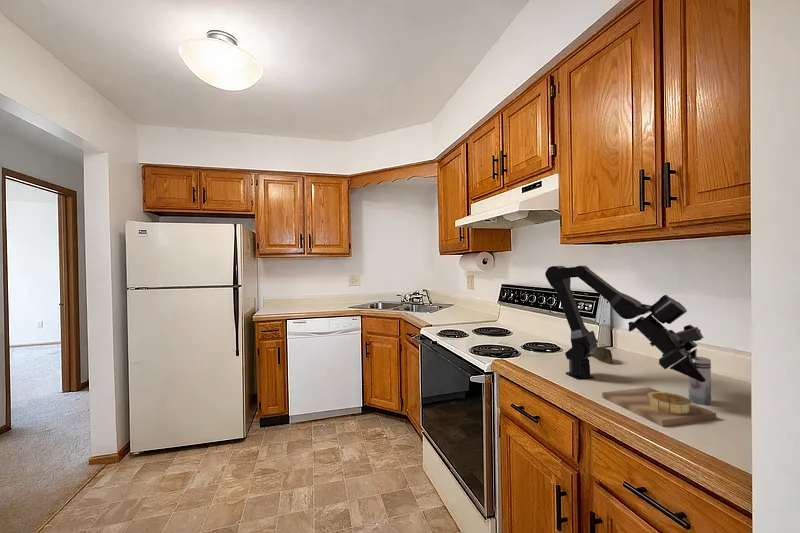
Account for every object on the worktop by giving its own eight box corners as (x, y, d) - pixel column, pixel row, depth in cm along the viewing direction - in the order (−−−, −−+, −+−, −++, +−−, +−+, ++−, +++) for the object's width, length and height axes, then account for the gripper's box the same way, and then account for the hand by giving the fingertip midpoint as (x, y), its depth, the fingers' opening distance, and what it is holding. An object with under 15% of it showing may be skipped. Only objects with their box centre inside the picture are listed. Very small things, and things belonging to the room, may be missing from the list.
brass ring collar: (639, 402, 95) (639, 393, 95) (666, 399, 97) (666, 390, 97) (670, 416, 86) (670, 406, 86) (699, 412, 88) (699, 402, 88)
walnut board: (602, 397, 103) (602, 392, 103) (648, 392, 106) (648, 387, 106) (662, 426, 85) (662, 420, 85) (716, 419, 88) (716, 412, 88)
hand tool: (574, 350, 158) (574, 338, 158) (585, 350, 158) (585, 337, 158) (602, 365, 135) (601, 351, 135) (615, 365, 135) (614, 350, 135)
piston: (684, 399, 100) (683, 357, 100) (698, 397, 101) (697, 355, 101) (701, 406, 96) (701, 361, 95) (716, 404, 96) (715, 360, 96)
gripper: (672, 320, 95) (729, 370, 87) (687, 312, 107) (738, 355, 99) (638, 345, 101) (688, 393, 93) (656, 335, 113) (702, 377, 105)
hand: (706, 379), depth 97 cm, fingers closed on piston, 5 cm apart
